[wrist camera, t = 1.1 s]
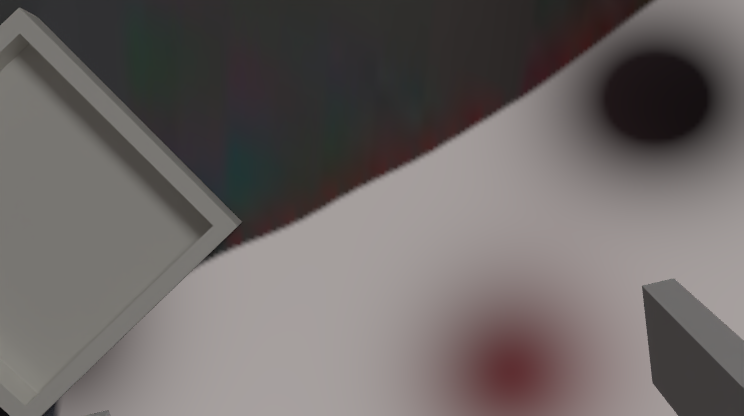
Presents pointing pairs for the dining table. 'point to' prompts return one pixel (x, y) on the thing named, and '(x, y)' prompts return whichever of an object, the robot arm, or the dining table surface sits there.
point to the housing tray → (82, 218)
